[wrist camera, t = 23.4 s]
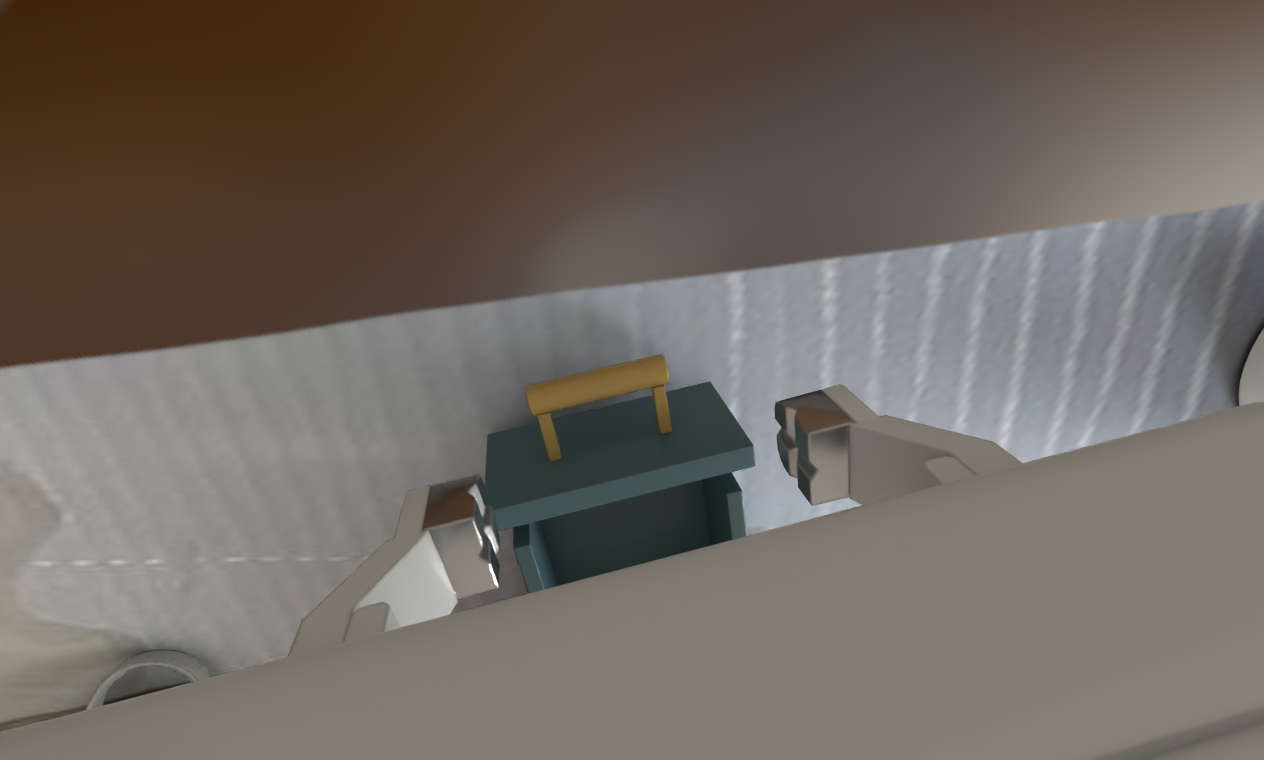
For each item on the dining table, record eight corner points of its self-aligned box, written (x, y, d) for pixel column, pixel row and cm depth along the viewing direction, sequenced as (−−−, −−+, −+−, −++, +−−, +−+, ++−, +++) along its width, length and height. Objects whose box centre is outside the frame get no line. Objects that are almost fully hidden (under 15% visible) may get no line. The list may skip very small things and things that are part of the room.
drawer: (465, 367, 31) (455, 436, 25) (701, 313, 32) (746, 366, 26) (556, 645, 40) (564, 743, 34) (737, 596, 42) (776, 683, 35)
